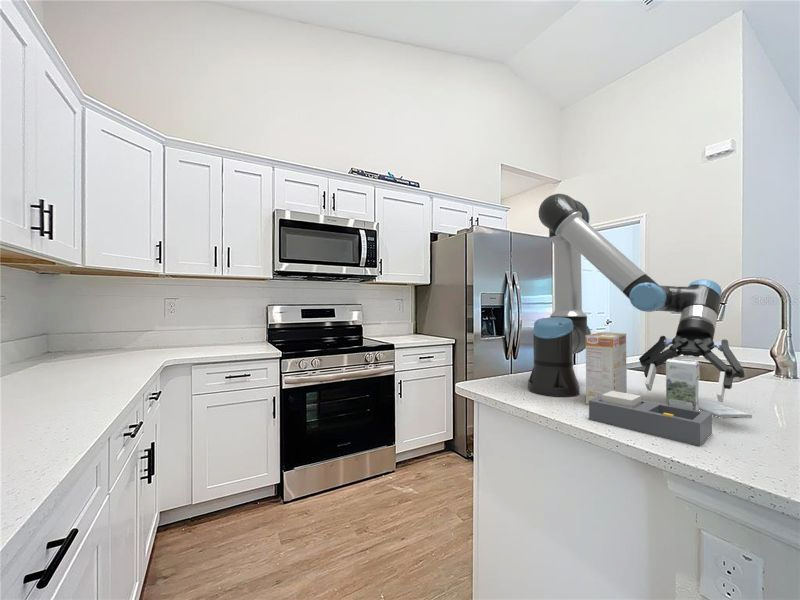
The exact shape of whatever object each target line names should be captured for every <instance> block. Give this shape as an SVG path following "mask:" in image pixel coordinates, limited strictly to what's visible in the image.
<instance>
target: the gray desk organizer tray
mask: <svg viewBox="0 0 800 600" xmlns="http://www.w3.org/2000/svg"><path fill="white" fill-rule="evenodd" d="M588 420H592V421H596V422H599V423H604V424H608V425H612V426H615V427H619V428H623V429H629V430H631V429H632V431H636V432H639V433H640V432H641V433H644V432H645V434H648V433H649V435H652V436H657V437H660V438H666V439H670V440H673V441H677V442H681V443H685V444H689V443H690V444H689V445H693V444H694V445H693V446H697V447H701V446H702V445H703V444H704V443H705V442H706V441H707V440H708V439H709V438H710V437H711V436H712V435H713V416H712V413H709V412H704V411H698V410H693V409H687V408H682V407H677V406H671V405H666V403H658V402H653V401H650V400H649V401H648V400H642V395H641V394H640V395H639V394H633V393H628V392H627V393H622V392H617V391H610V392H608V393H605V394H602V396H599V397H597V398H594V399H592V400H589V405H588ZM711 434H712V435H711ZM710 435H711V436H710ZM709 436H710V437H709ZM708 437H709V438H708Z"/></svg>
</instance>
